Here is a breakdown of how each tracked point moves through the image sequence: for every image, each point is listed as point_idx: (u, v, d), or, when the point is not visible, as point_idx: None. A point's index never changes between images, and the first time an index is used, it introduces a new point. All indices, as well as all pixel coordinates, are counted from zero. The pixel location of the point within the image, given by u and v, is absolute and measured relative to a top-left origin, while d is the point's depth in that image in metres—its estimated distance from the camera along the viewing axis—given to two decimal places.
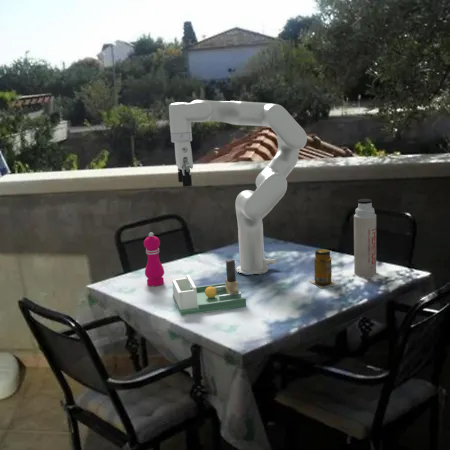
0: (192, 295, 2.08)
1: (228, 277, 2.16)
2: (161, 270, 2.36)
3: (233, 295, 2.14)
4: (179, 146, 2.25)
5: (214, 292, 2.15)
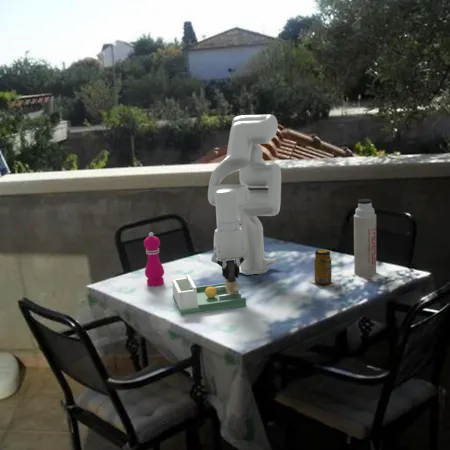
0: (192, 295, 2.08)
1: (228, 277, 2.16)
2: (161, 270, 2.36)
3: (233, 295, 2.14)
4: (241, 233, 2.13)
5: (214, 292, 2.15)
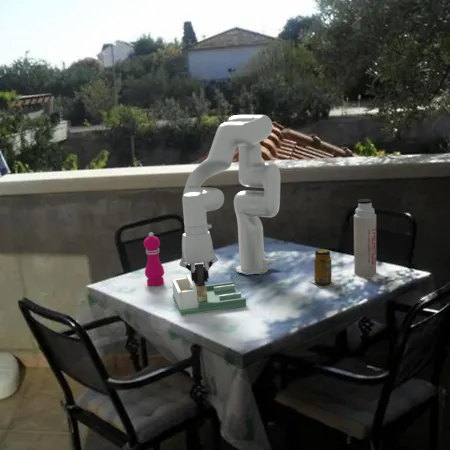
0: (192, 295, 2.08)
1: (197, 281, 2.14)
2: (161, 270, 2.36)
3: (233, 295, 2.14)
4: (210, 236, 2.10)
5: None
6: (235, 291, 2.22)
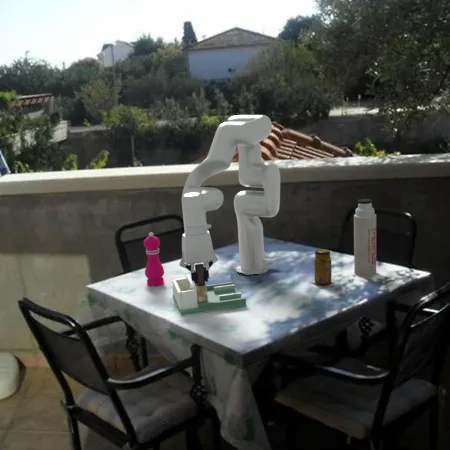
0: (192, 295, 2.08)
1: (197, 281, 2.14)
2: (161, 270, 2.36)
3: (233, 295, 2.14)
4: (209, 236, 2.10)
5: None
6: (235, 291, 2.22)
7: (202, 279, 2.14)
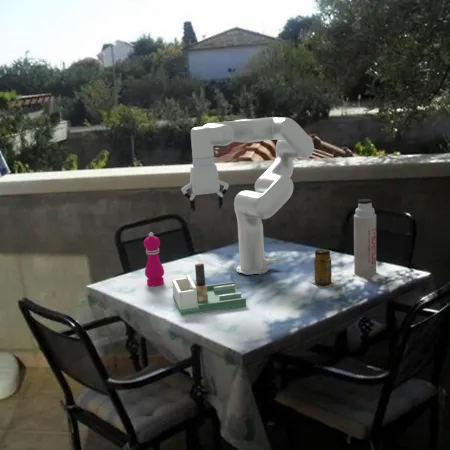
0: (192, 295, 2.08)
1: (197, 281, 2.14)
2: (161, 270, 2.36)
3: (233, 295, 2.14)
4: (216, 169, 2.24)
5: None
6: (235, 291, 2.22)
7: (202, 279, 2.14)
